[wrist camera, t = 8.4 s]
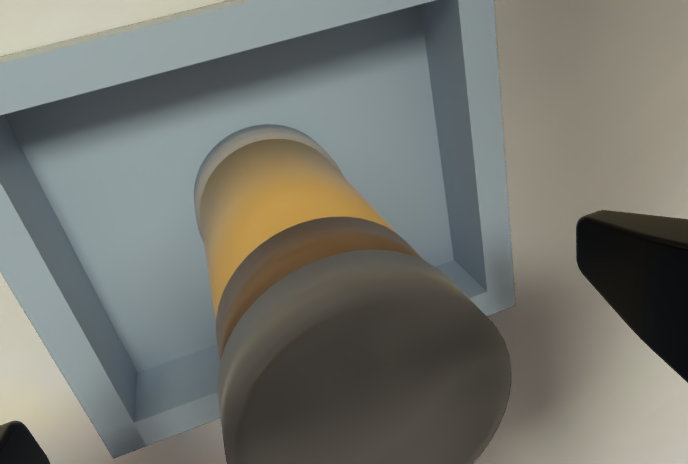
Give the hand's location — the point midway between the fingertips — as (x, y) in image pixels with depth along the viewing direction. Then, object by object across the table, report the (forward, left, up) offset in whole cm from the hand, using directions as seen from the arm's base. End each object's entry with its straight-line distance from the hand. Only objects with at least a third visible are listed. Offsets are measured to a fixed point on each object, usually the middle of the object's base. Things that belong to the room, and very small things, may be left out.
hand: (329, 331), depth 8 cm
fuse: (0, 0, -6) cm, 6 cm away
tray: (0, 0, -6) cm, 7 cm away
